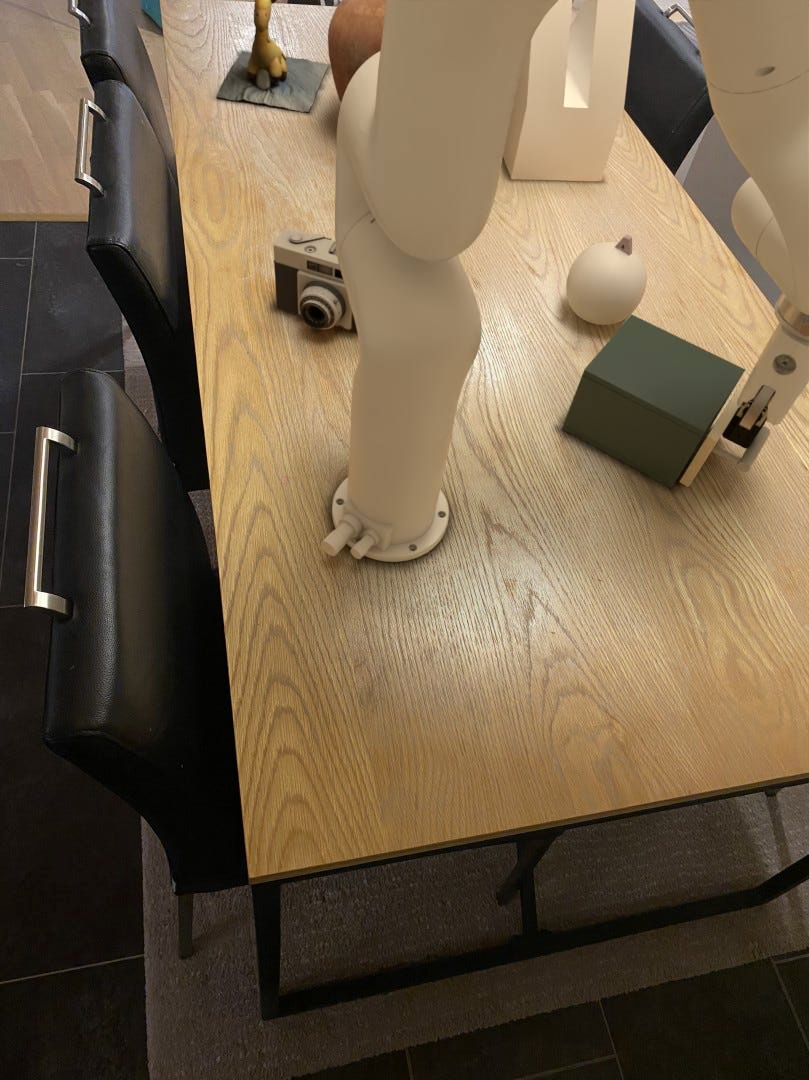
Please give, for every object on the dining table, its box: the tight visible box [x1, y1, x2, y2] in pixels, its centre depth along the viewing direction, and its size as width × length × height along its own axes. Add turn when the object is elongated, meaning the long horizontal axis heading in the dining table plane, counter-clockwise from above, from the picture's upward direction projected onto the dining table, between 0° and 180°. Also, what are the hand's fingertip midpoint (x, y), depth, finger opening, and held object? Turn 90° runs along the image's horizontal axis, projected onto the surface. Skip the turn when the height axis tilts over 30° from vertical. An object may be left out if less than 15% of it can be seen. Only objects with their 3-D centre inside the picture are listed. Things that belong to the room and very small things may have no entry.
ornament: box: [565, 234, 648, 326], centre depth 100 cm, size 10×10×12 cm
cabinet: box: [561, 314, 746, 489], centre depth 89 cm, size 15×13×10 cm
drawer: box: [679, 379, 771, 488], centre depth 88 cm, size 18×11×8 cm, turn 55°
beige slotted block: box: [502, 0, 636, 182], centre depth 120 cm, size 19×15×25 cm
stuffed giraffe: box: [215, 0, 329, 113], centre depth 129 cm, size 16×18×16 cm
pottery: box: [327, 0, 387, 104], centre depth 119 cm, size 23×23×25 cm
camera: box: [272, 226, 358, 334], centre depth 95 cm, size 14×8×10 cm, turn 71°
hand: (736, 438), depth 86 cm, fingers closed
